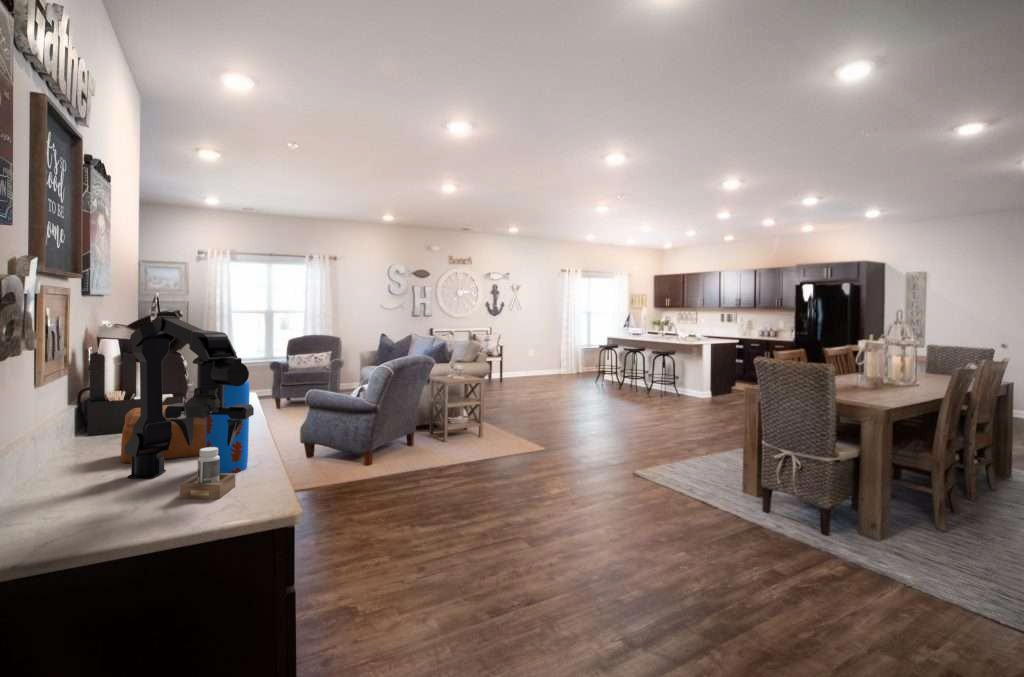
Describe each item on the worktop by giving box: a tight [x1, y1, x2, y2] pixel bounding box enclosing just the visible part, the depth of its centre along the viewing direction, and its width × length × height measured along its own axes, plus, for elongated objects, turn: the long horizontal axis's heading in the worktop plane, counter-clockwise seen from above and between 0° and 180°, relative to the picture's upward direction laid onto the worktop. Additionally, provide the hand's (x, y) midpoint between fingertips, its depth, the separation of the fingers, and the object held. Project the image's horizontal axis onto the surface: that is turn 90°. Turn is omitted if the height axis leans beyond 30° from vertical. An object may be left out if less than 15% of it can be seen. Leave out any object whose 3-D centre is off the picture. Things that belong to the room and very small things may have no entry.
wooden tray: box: [179, 473, 237, 500], centre depth 128 cm, size 9×9×4 cm
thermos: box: [205, 380, 251, 474], centre depth 147 cm, size 11×11×25 cm
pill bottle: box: [196, 447, 220, 483], centre depth 128 cm, size 5×5×8 cm
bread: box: [120, 404, 206, 464], centre depth 160 cm, size 14×26×16 cm, turn 128°
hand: (209, 445), depth 127 cm, fingers open, 9 cm apart
